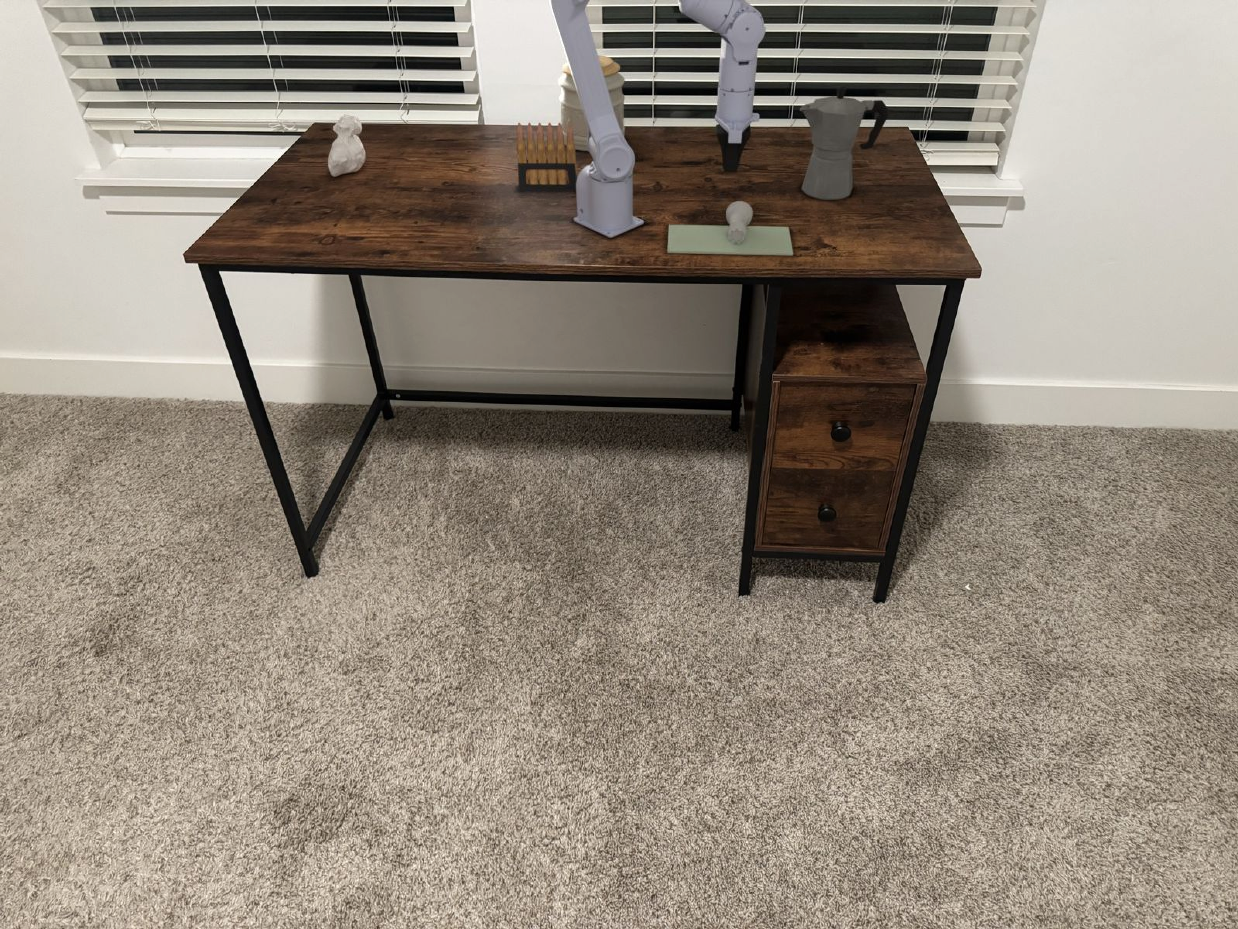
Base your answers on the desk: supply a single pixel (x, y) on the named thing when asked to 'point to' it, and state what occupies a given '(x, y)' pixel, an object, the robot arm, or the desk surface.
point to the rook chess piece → (738, 220)
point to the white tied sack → (346, 147)
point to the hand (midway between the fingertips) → (730, 170)
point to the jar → (572, 105)
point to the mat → (716, 240)
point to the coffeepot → (837, 142)
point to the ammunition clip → (546, 160)
